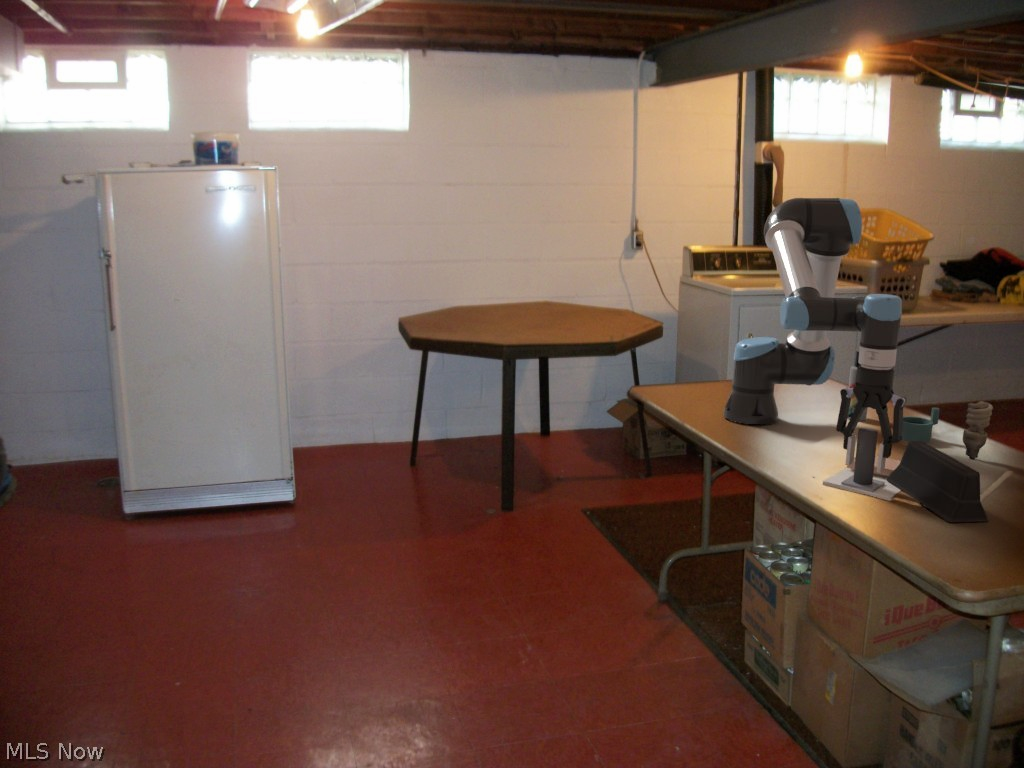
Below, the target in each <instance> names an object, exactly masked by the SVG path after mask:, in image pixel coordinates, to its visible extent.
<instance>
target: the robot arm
mask: <svg viewBox="0 0 1024 768" xmlns="http://www.w3.org/2000/svg"><path fill="white" fill-rule="evenodd" d="M861 213H862V212H861V209H860V206H859V205H858V203H857V202H856V201H855V200H854V199H851V198H840V197H835V198H834V197H829V198H826V197H824V198H823V197H813V198H812V197H807V198H806V197H794V198H791V199H787V200H785V201H783V202H781V203H779V205H776V207H775V208H773V210H772V211H771V212H770V213H769V215H768V216H767V219H766V221H765V223H764V225H763V227H764V228H763V238H764V242H765V244H766V246H767V248H768V249H769V250H771V251H772V255H773V257H774V261H775V265H776V269H777V272H778V274H779V279H780V282H781V285H782V289H783V293H784V295H785V297H784V298H783V299H782V301H781V304H780V307H779V308H780V309H779V317H780V319H779V321H780V324H781V327H782V328H784V329H786V330H793V331H792V332H790V333H789V334H787V337H786V341H785V343H783V342H782V343H781V342H780V343H779V340H778V338H775V337H770V336H769V337H768V336H759V337H758V336H757V337H749V338H745V339H742V340H739V341H738V342H737V343H736V344H735V348H734V354H733V358H732V359H733V368H732V370H733V372H732V381H731V382H732V384H731V385H732V386H731V392H730V395H729V397H728V398H727V399H728V400H727V401H726V404H725V406H724V408H723V418H724V417H726V418H727V419H729V420H732V421H736V422H740V423H739V424H741V423H746V424H745V425H748V424H761V425H760V426H763V425H762V424H768V425H772V424H775V423H777V422H778V420H779V410H778V407H777V402H776V398H775V393H774V392H775V385H795V386H796V385H802V386H815V385H816V386H817V385H818V386H819V385H823V384H824V383H826V382H827V381H828V380H829V379H830V377H831V376H832V373H833V370H834V368H835V359H836V357H835V355H836V353H835V349H834V346H832V345H831V341H830V338H828V337H827V332H829V331H832V332H833V331H834V332H858V333H859V332H860V339H859V340H860V341H859V348H858V352H859V357H858V363H859V364H861V365H859V366H858V367H857V375H856V384H855V386H854V387H853V388H849V387H845V388H842V389H840V398H841V399H840V400H841V401H840V405H839V406H840V407H839V412H838V417H837V422H836V428H835V429H836V431H837V432H838V433H839V432H840V433H841V434H842V435H843V444H842V445H843V446H842V448H843V450H846V457H845V465H846V466H847V465H848V466H849V465H851V464H852V463H853V462H854V458H855V454H856V445H857V435H856V434H854V433H855V429H856V427H857V426H858V423H859V422H860V421H859V419H860V417H861V415H862V413H863V411H864V409H865V408H871V409H873V410H875V412H876V414H877V417H878V421H879V422H878V423H879V426H880V430H881V436H882V439H883V441H882V442H881V443H879V449H878V455H877V456H878V464H877V472H879V473H880V472H882V471H883V470H885V462H886V458H889V459H890V458H891V455H892V449H893V444H897V443H899V442H901V441H902V430H903V417H904V407H905V405H906V403H907V398H906V397H905V396H899V395H897V394H895V393H894V389H893V387H894V379H895V378H894V377H895V369H894V368H893V367H896V361H897V353H898V342H899V334H900V325H901V319H902V316H903V315H902V314H903V310H902V307H903V305H902V304H903V300H902V298H901V297H900V296H898V295H893V294H888V293H887V294H886V293H869V294H867V296H861V295H857V296H853V297H835V292H836V288H837V287H836V286H837V283H838V277H839V273H840V268H841V262H842V259H843V258H844V257H846V256H847V255H848V254H849V253H850V249H851V246H855V245H858V244H859V243H860V240H861V239H862V238H861V237H862V232H863V230H862V229H863V222H862V214H861ZM853 393H854V394H855V396H856V398H857V400H858V402H857V405H856V407H855V410H854V412H853V414H852V417H851V419H849V421H848V419H847V418H848V413H849V407H850V402H851V397H852V396H853ZM890 401H892V406H894V407H893V413H892V414H893V416H892V417H893V421H892V422H893V423H892V425H891V422H890V418H889V413H888V403H889V402H890ZM726 418H725V419H726ZM727 419H726V420H727ZM729 420H728V421H729ZM732 421H731V422H732ZM736 422H735V423H736ZM847 422H848V423H847ZM891 426H892V427H891Z"/></svg>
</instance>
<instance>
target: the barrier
mask: <svg viewBox="0 0 1024 768" xmlns="http://www.w3.org/2000/svg"><path fill="white" fill-rule="evenodd" d="M900 461H901V462H900V464H899V465H898V467H897V468H896V469H895V470H894V471H893V472H892V473H891V474H890V475H889V477H888V478H887V481H888V482H889V483H891V484H892V485H894V486H895V487H897V488H898V489H900V490H901V491H900V492H903V493H904V494H907V495H908V496H909V497H911V498H913V499H914V500H917V501H918V503H919V504H921V505H923V506H924V507H926V508H927V509H928V510H930V511H931V512H933V513H935V514H936V515H937V516H939V517H940V518H942V519H943V520H945V521H946V522H947V523H969V522H971V523H975V522H978V523H979V522H981V523H982V522H989V519H988V517H987V514H986V512H985V509H984V507H983V504H982V502H981V473H980V472H979V471H977V470H975V469H973V468H971V467H970V466H968V465H967V464H964V463H963V462H961V461H960V460H957V459H956V458H954V457H952V456H950V455H948V454H947V453H944V452H943V451H940V450H939V449H937V448H936V447H933V446H932V445H930V444H929V443H925V442H923V441H909V442H907V444H906V447H905V449H904V452H903V455H902V458H901V460H900Z"/></svg>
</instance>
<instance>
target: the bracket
mask: <svg viewBox="0 0 1024 768" xmlns="http://www.w3.org/2000/svg"><path fill="white" fill-rule="evenodd" d="M939 417H940V407H931V413H930V419H929V418H925V417H920V416H919V417H918V416H909V415H908V416H903V430H902V440H901V441H903V442H906V443H908V442H909V441H923V442H925V443H926V444H929V443H931V441H932V434H933V433H932V432H933V426H935V425H938V424H939Z"/></svg>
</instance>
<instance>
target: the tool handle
mask: <svg viewBox="0 0 1024 768" xmlns="http://www.w3.org/2000/svg"><path fill="white" fill-rule="evenodd" d="M878 433H879V431H878V430H877V429H874V428H871V427H870V428H869V427H861V428H858V429H857V437H856V447H855V457H856V458H855V457H854V458H855V468H854V478H853V481H854V482H855V483H857V484H861V485H871V484H872V482H873V473H874V463H875V456H876V452H877V444H878V435H879V434H878Z"/></svg>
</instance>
